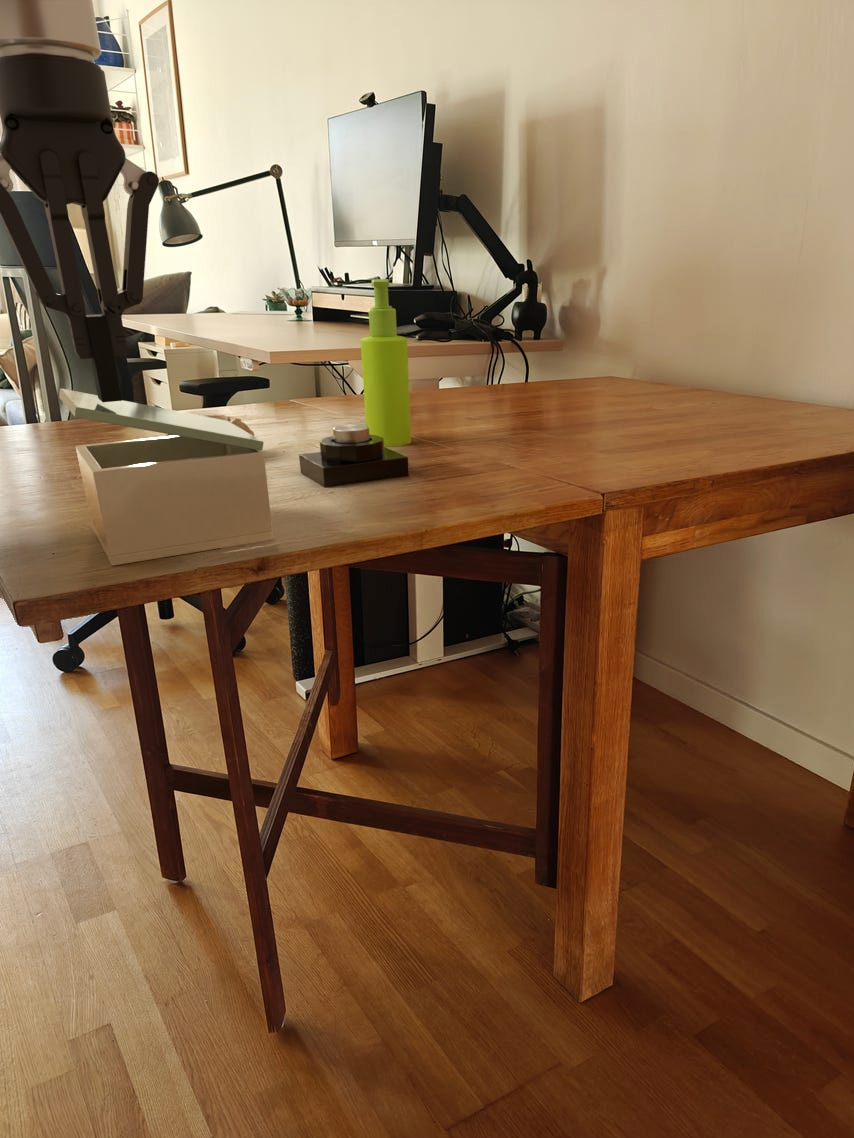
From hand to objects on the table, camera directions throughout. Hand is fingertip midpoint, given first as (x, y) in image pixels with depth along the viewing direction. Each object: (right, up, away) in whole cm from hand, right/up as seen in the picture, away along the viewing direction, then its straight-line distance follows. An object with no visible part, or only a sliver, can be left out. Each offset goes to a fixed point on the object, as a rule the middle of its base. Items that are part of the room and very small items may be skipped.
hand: (109, 399), depth 71 cm
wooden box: (+4, -10, +7) cm, 13 cm away
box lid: (+3, -1, +3) cm, 4 cm away
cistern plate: (+16, -1, +27) cm, 32 cm away
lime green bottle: (+18, +6, +44) cm, 48 cm away
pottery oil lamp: (-3, +2, +34) cm, 34 cm away
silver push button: (+16, +2, +25) cm, 30 cm away
